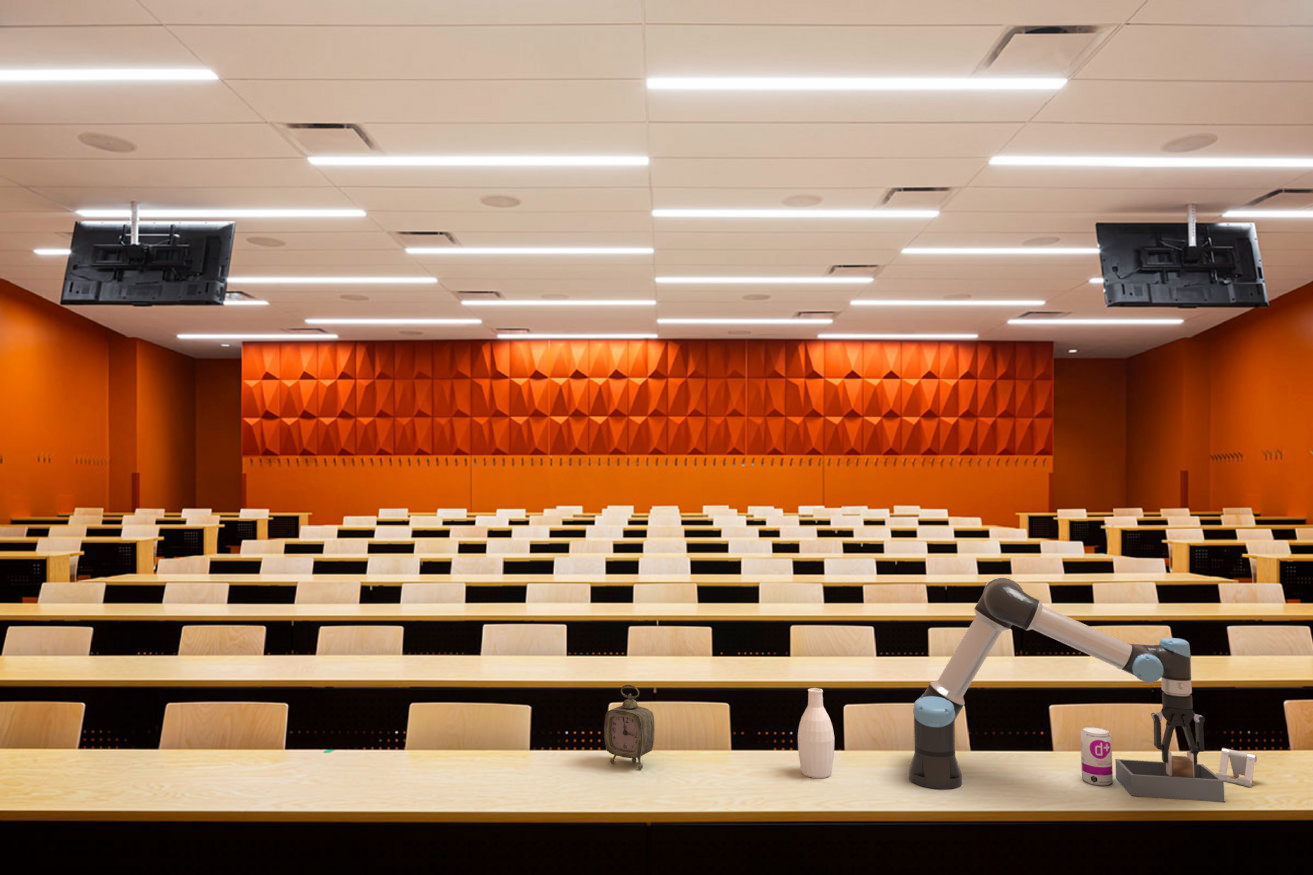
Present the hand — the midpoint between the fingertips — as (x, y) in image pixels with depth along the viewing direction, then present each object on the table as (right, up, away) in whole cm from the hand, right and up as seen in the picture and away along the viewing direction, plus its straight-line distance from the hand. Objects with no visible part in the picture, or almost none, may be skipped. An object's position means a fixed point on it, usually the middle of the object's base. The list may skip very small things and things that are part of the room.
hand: (1180, 774), depth 248 cm
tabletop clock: (-159, -7, +25) cm, 161 cm away
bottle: (-102, -6, +16) cm, 103 cm away
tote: (-3, -5, +1) cm, 6 cm away
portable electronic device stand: (+22, -5, +8) cm, 24 cm away
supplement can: (-20, -5, +8) cm, 22 cm away
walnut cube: (0, 0, 0) cm, 0 cm away
